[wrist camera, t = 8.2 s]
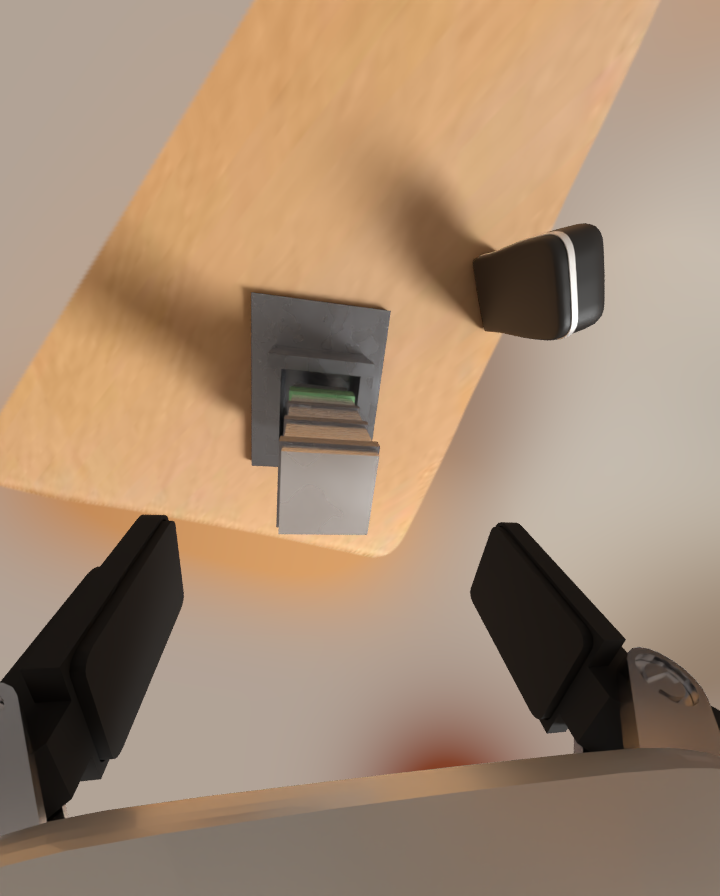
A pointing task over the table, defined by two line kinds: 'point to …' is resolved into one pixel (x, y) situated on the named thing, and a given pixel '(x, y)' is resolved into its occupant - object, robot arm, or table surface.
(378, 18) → the table surface
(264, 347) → the stand
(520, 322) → the battery charger
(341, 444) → the column
